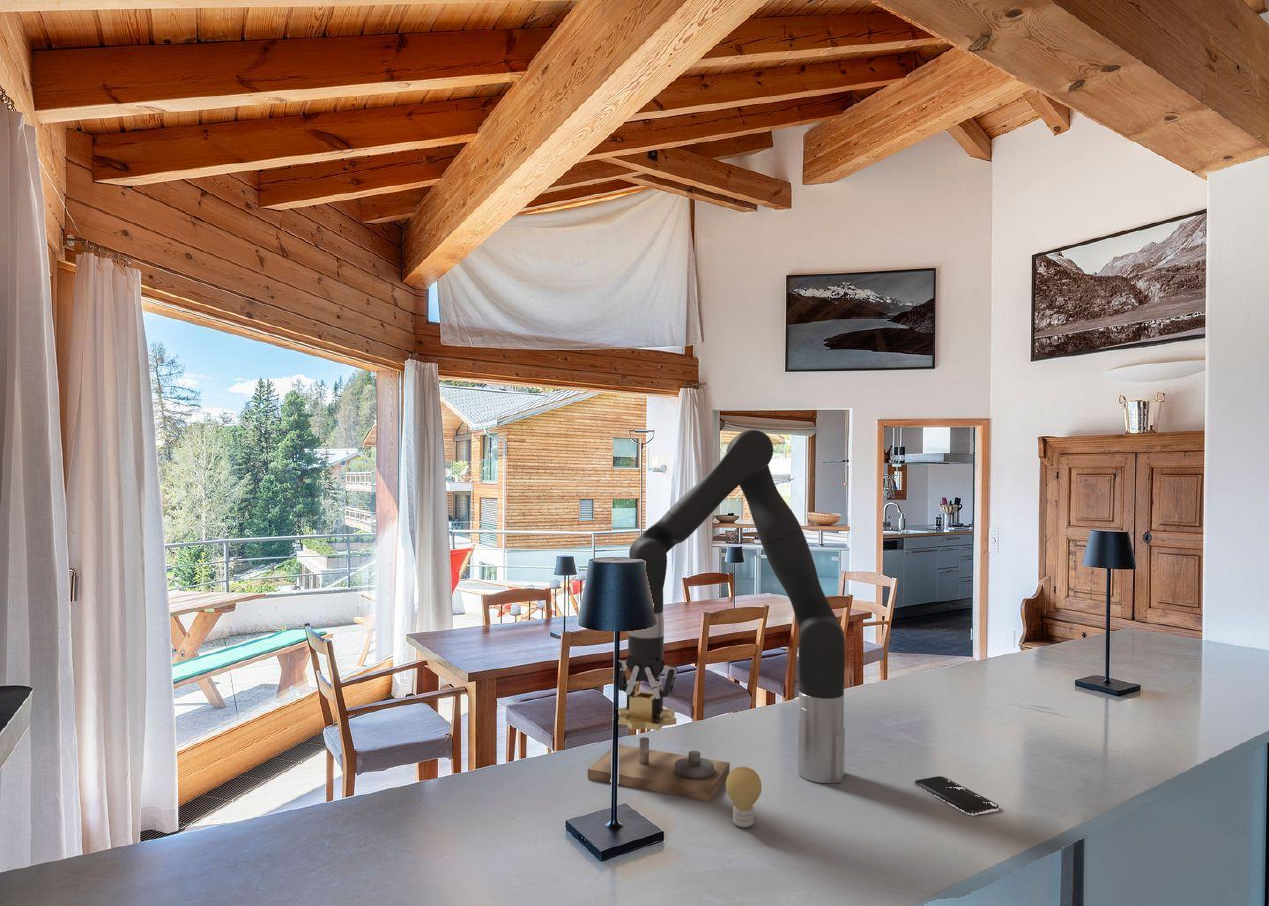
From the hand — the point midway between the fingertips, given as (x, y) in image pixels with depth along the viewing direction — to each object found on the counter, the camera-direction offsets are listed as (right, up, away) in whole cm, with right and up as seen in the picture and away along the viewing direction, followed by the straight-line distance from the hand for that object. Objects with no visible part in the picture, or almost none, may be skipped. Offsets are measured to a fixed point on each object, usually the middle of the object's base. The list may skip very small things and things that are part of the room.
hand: (644, 713), depth 154 cm
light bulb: (+17, -12, -23) cm, 31 cm away
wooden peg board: (+3, -12, -2) cm, 13 cm away
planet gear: (0, -1, 0) cm, 1 cm away
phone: (+61, -13, -10) cm, 64 cm away
